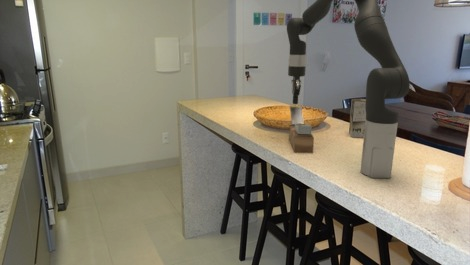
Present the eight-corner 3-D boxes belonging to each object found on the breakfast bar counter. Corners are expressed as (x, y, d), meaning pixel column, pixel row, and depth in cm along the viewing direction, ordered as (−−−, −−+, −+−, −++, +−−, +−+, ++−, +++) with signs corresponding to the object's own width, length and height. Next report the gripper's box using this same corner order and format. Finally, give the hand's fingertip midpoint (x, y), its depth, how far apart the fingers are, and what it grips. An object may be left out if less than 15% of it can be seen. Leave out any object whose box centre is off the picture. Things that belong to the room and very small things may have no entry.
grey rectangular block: (311, 134, 130) (311, 125, 129) (297, 134, 130) (298, 124, 129) (307, 131, 138) (307, 122, 138) (294, 131, 139) (295, 122, 138)
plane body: (313, 152, 131) (314, 135, 129) (294, 152, 131) (294, 135, 130) (305, 139, 149) (306, 124, 147) (288, 139, 149) (289, 124, 147)
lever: (304, 124, 147) (301, 105, 155) (291, 124, 147) (289, 105, 156) (304, 126, 148) (301, 107, 156) (291, 126, 148) (289, 107, 157)
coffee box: (366, 138, 151) (369, 101, 147) (350, 137, 152) (354, 101, 148) (362, 132, 160) (366, 98, 156) (348, 132, 161) (351, 97, 157)
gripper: (307, 66, 147) (305, 106, 151) (303, 64, 159) (301, 101, 164) (290, 66, 147) (288, 106, 151) (287, 64, 160) (285, 101, 164)
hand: (295, 103), depth 158 cm, fingers closed
